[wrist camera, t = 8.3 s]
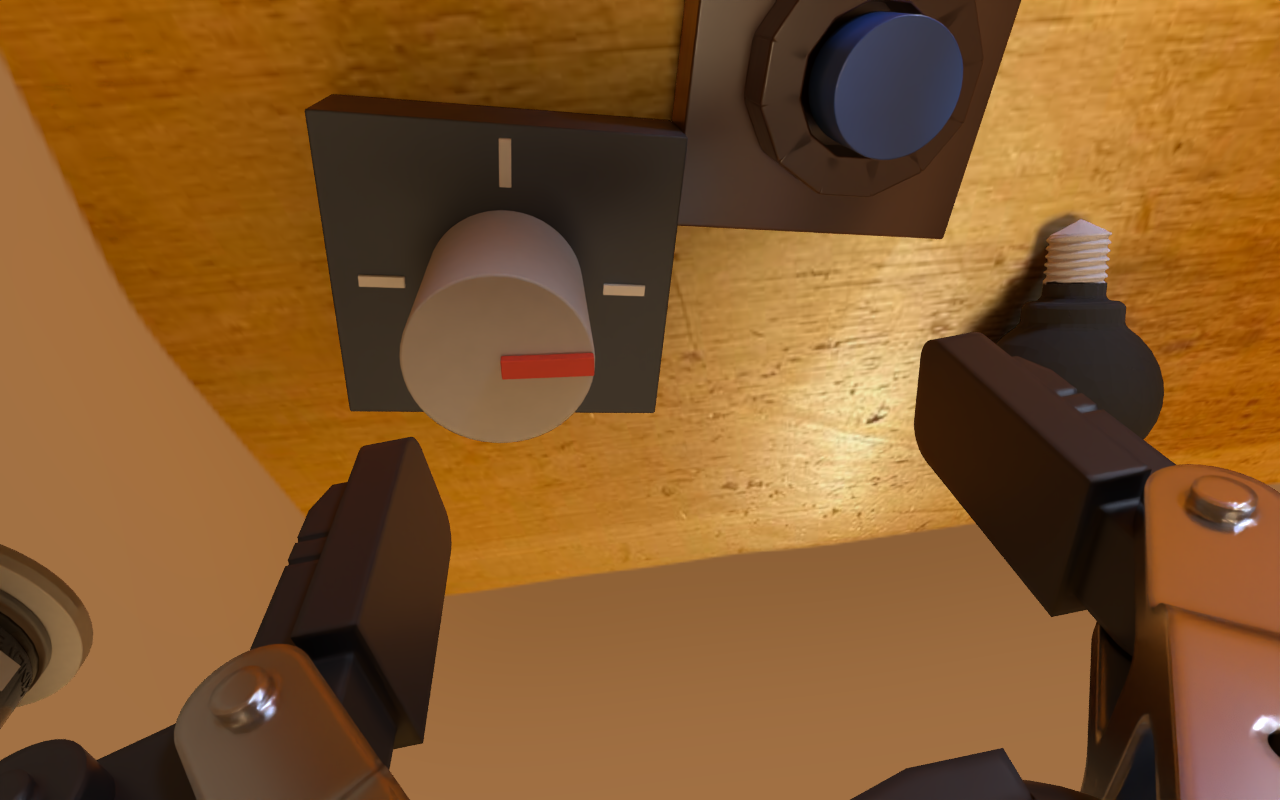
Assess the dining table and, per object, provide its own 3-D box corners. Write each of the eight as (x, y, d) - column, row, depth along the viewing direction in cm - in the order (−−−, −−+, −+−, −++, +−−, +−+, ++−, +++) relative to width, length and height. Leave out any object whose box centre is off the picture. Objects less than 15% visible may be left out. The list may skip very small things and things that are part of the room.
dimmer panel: (367, 371, 27) (348, 414, 24) (330, 93, 21) (301, 110, 19) (644, 375, 28) (655, 415, 26) (671, 119, 23) (689, 138, 21)
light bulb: (1231, 208, 23) (1195, 491, 25) (1117, 221, 29) (1095, 446, 31) (1033, 215, 24) (1012, 490, 25) (963, 227, 30) (950, 447, 32)
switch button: (796, 141, 21) (820, 156, 19) (823, 4, 19) (852, 7, 17) (906, 149, 21) (939, 164, 19) (942, 18, 19) (982, 21, 18)
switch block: (662, 207, 25) (682, 243, 21) (699, -138, 20) (733, -163, 16) (914, 221, 26) (970, 256, 23) (1010, -95, 21) (1100, -109, 18)
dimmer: (437, 355, 23) (412, 455, 18) (417, 210, 21) (381, 281, 16) (583, 350, 24) (596, 445, 19) (581, 208, 21) (595, 276, 16)
